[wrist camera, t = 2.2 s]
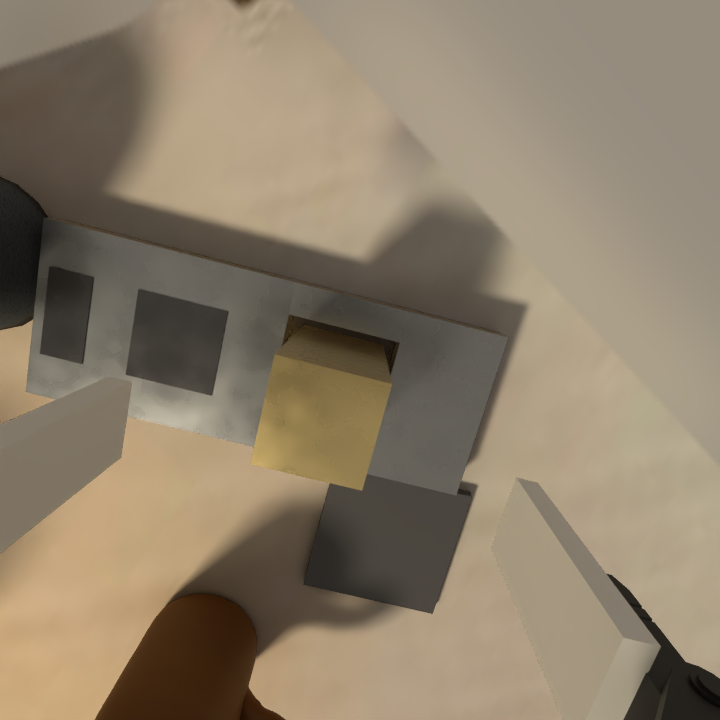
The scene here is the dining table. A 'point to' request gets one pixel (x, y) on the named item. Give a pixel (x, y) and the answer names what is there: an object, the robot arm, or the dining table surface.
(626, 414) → the dining table surface
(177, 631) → the mug
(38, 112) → the dining table surface
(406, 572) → the rubber mat
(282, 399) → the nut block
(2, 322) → the mug
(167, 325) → the grey board with slots
